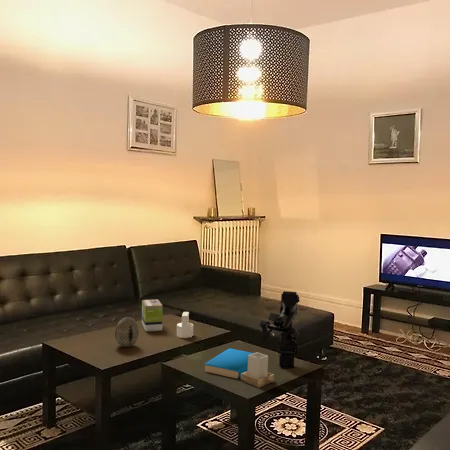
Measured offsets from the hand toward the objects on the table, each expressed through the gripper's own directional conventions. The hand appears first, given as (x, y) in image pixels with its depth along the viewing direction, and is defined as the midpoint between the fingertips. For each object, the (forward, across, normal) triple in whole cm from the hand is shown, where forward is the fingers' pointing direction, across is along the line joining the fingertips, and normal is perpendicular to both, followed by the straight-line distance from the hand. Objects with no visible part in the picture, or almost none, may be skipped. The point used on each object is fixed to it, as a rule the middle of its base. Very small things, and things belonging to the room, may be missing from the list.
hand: (269, 345), depth 212 cm
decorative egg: (+26, -73, -6) cm, 77 cm away
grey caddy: (+14, 0, +4) cm, 15 cm away
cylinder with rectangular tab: (+1, -68, +18) cm, 71 cm away
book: (+12, -18, +8) cm, 23 cm away
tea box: (+4, -92, +16) cm, 93 cm away
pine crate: (+15, 0, +4) cm, 16 cm away
